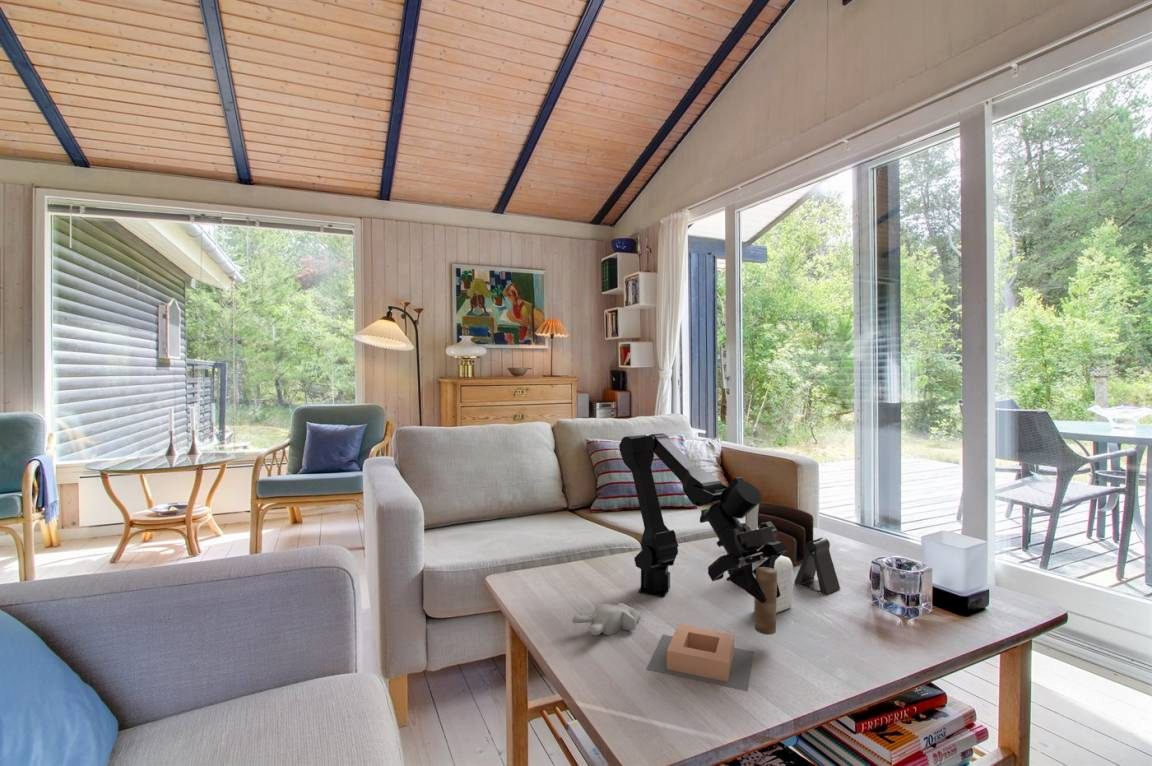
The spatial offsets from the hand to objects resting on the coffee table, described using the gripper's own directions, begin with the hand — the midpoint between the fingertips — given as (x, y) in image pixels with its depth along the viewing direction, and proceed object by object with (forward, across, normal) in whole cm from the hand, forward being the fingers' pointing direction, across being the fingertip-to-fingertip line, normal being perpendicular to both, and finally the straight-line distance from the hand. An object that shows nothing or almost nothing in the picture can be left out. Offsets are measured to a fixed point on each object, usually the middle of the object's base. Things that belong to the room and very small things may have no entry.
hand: (771, 599), depth 110 cm
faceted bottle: (-11, +27, +26) cm, 39 cm away
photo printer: (-1, +16, +16) cm, 22 cm away
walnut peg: (+4, 0, +6) cm, 7 cm away
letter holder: (-17, +48, +33) cm, 61 cm away
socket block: (+4, -14, +10) cm, 18 cm away
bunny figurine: (-10, -22, +25) cm, 34 cm away
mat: (+4, -14, +11) cm, 18 cm away
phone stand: (-2, +37, +17) cm, 40 cm away
